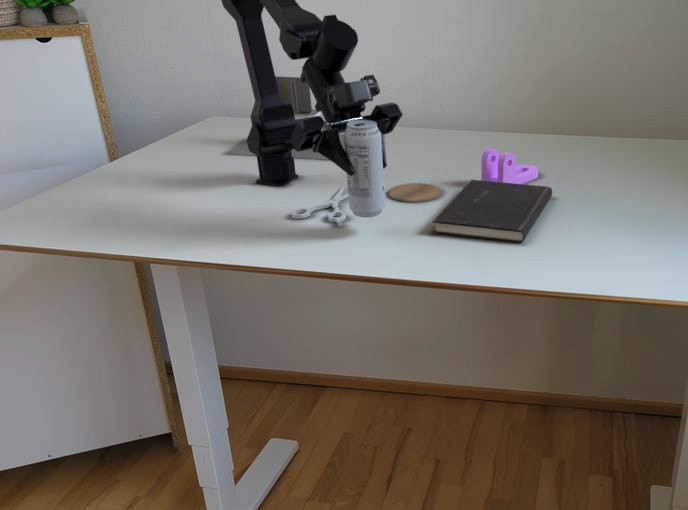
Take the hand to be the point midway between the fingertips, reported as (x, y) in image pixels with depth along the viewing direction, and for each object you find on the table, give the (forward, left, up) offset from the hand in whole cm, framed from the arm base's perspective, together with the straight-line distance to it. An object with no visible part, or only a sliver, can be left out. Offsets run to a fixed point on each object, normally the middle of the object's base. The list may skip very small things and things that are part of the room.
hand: (368, 170), depth 131 cm
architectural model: (-41, +44, -11) cm, 61 cm away
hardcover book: (+17, +16, -11) cm, 26 cm away
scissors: (-13, +11, -11) cm, 20 cm away
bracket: (+14, +36, -11) cm, 40 cm away
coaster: (-2, +22, -11) cm, 24 cm away
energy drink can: (-1, +1, -8) cm, 8 cm away
